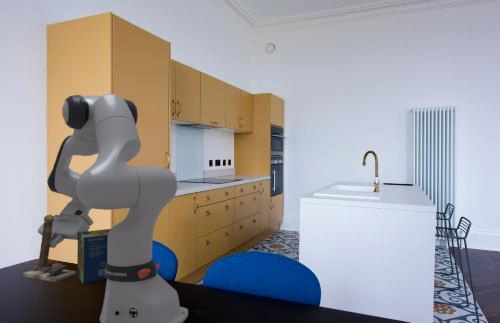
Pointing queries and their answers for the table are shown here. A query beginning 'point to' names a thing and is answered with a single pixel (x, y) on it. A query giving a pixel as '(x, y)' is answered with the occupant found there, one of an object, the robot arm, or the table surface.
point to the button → (55, 265)
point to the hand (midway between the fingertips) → (49, 246)
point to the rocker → (57, 269)
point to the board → (46, 276)
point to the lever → (45, 242)
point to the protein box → (92, 255)
